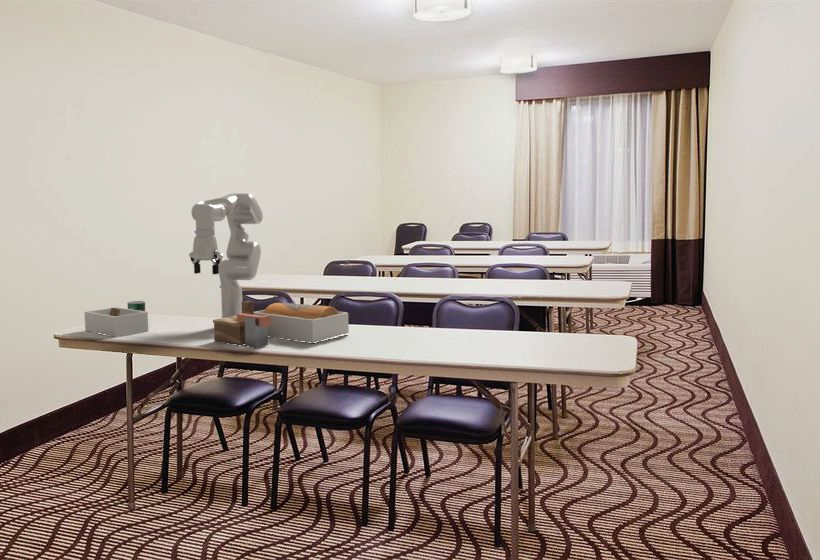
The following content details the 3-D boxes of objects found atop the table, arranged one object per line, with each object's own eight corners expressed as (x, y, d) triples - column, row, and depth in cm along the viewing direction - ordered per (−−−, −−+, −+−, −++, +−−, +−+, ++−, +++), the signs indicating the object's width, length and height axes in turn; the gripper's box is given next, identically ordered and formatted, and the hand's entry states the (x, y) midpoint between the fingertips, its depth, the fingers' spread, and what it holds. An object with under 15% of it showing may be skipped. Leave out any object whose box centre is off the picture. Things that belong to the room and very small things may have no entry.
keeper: (258, 343, 281) (257, 315, 279) (268, 345, 277) (267, 316, 276) (245, 346, 275) (244, 317, 274) (255, 348, 272) (255, 319, 270)
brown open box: (240, 335, 297) (239, 317, 296) (265, 340, 288) (265, 321, 287) (214, 341, 286) (214, 322, 285) (240, 345, 277) (239, 326, 276)
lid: (239, 317, 297) (239, 299, 296) (266, 321, 287) (265, 302, 286) (212, 322, 285) (212, 303, 284) (239, 326, 275) (239, 307, 274)
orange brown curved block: (341, 335, 300) (340, 304, 298) (320, 342, 285) (320, 309, 284) (285, 329, 313) (285, 299, 311) (263, 336, 298) (262, 304, 296)
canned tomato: (131, 323, 327) (130, 301, 326) (148, 323, 328) (147, 300, 326) (125, 326, 319) (124, 303, 318) (142, 326, 320) (141, 303, 318)
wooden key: (243, 321, 282) (243, 311, 282) (270, 325, 273) (270, 315, 273) (235, 322, 279) (235, 313, 278) (262, 326, 270) (262, 317, 269)
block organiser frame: (117, 325, 320) (116, 307, 319) (148, 331, 307) (147, 312, 306) (85, 331, 307) (84, 311, 306) (115, 337, 294) (114, 317, 293)
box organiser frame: (289, 326, 319) (289, 305, 318) (348, 335, 299) (348, 312, 298) (252, 334, 300) (252, 312, 299) (312, 344, 280) (312, 320, 279)
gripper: (183, 233, 286) (184, 273, 287) (215, 233, 279) (216, 275, 281) (195, 233, 293) (196, 272, 294) (227, 233, 286) (228, 273, 287)
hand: (206, 273), depth 287 cm, fingers open, 9 cm apart
